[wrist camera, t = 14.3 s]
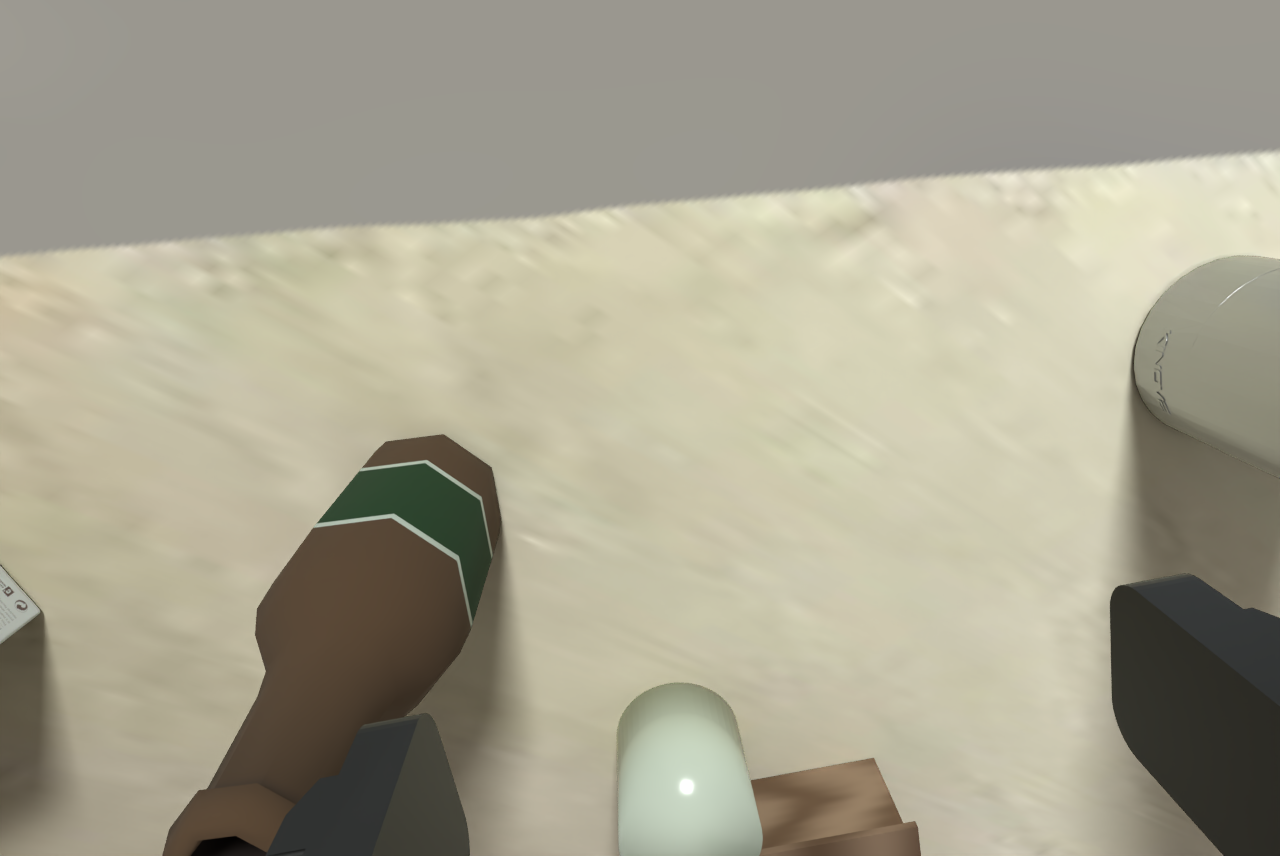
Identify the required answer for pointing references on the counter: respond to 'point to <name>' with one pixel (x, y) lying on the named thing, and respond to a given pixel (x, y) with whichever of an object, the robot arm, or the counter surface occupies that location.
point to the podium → (832, 814)
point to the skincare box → (13, 607)
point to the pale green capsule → (684, 777)
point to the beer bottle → (352, 634)
